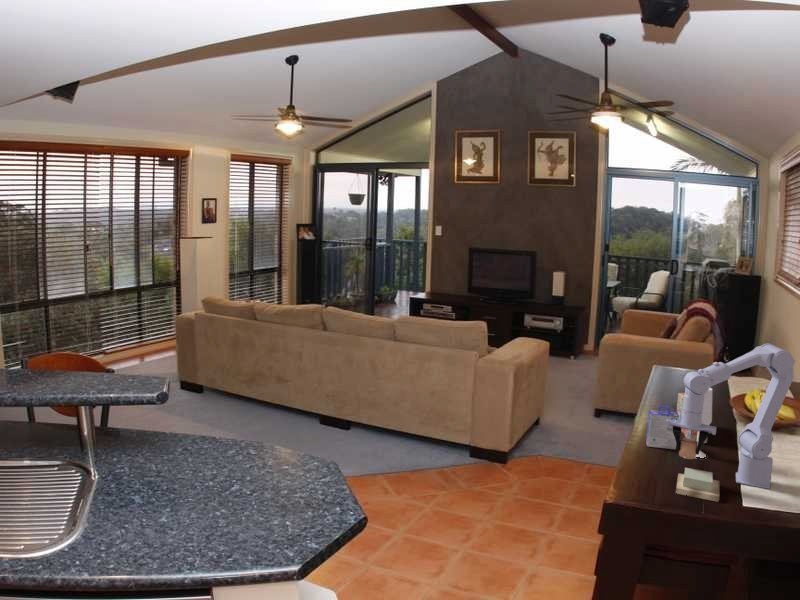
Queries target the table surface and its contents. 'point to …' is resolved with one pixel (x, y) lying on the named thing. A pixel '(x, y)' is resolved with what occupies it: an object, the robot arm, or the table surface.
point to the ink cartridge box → (661, 428)
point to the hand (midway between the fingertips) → (687, 451)
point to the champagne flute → (706, 415)
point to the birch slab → (696, 492)
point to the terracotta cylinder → (688, 448)
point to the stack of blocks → (680, 402)
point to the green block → (698, 479)
